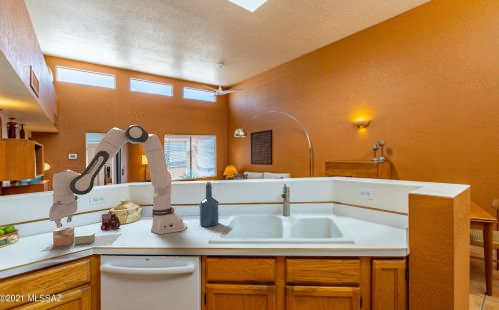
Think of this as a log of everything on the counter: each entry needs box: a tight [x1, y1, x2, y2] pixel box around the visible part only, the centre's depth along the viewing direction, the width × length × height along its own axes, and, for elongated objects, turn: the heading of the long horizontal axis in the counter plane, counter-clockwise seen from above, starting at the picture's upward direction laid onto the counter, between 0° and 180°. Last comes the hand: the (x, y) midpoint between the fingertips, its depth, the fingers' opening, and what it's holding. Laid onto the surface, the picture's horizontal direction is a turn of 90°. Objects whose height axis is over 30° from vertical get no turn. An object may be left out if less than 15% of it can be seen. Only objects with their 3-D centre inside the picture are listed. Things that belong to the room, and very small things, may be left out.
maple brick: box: [52, 227, 75, 240], centre depth 122 cm, size 8×4×4 cm, turn 104°
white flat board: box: [40, 233, 122, 252], centre depth 124 cm, size 32×17×1 cm, turn 104°
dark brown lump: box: [100, 213, 121, 231], centre depth 149 cm, size 7×12×10 cm, turn 84°
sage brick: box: [74, 232, 96, 244], centre depth 124 cm, size 8×4×4 cm, turn 104°
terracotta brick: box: [52, 234, 75, 246], centre depth 122 cm, size 8×4×4 cm, turn 104°
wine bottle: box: [199, 181, 220, 228], centre depth 157 cm, size 14×13×30 cm
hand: (64, 224), depth 122 cm, fingers open, 8 cm apart
